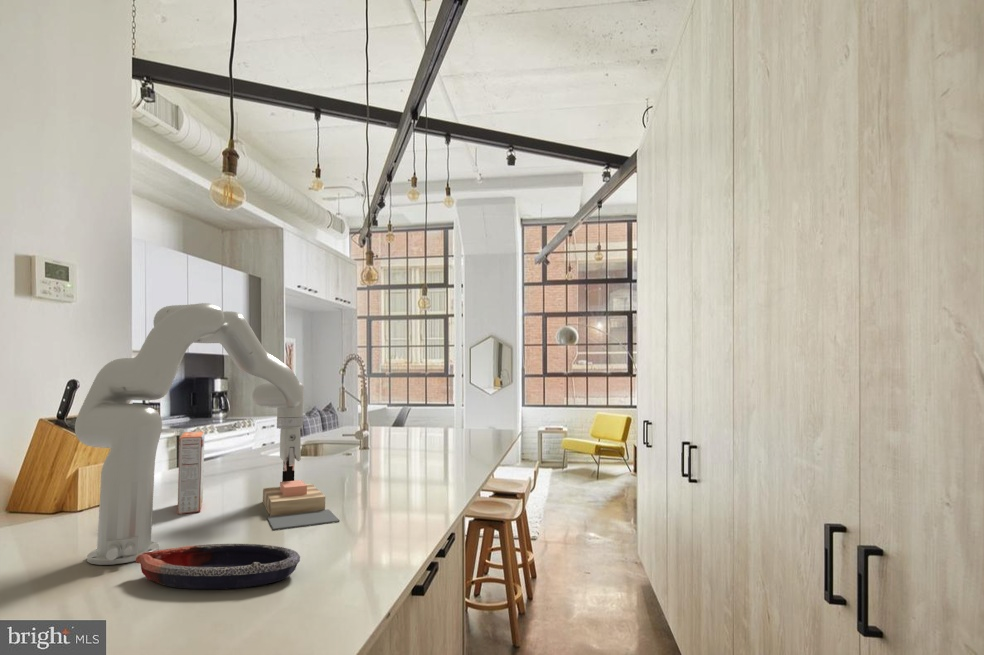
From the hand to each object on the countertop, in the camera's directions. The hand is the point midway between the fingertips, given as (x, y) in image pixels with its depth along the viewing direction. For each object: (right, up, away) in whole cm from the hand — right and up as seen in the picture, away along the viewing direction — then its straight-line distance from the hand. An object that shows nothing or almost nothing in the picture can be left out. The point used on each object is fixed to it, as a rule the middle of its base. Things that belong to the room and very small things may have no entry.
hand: (288, 483), depth 167 cm
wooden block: (+5, -4, -9) cm, 11 cm away
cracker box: (-24, -4, -11) cm, 27 cm away
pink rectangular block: (+5, 0, -8) cm, 10 cm away
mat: (+12, -3, -23) cm, 27 cm away
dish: (+10, 0, -63) cm, 64 cm away
